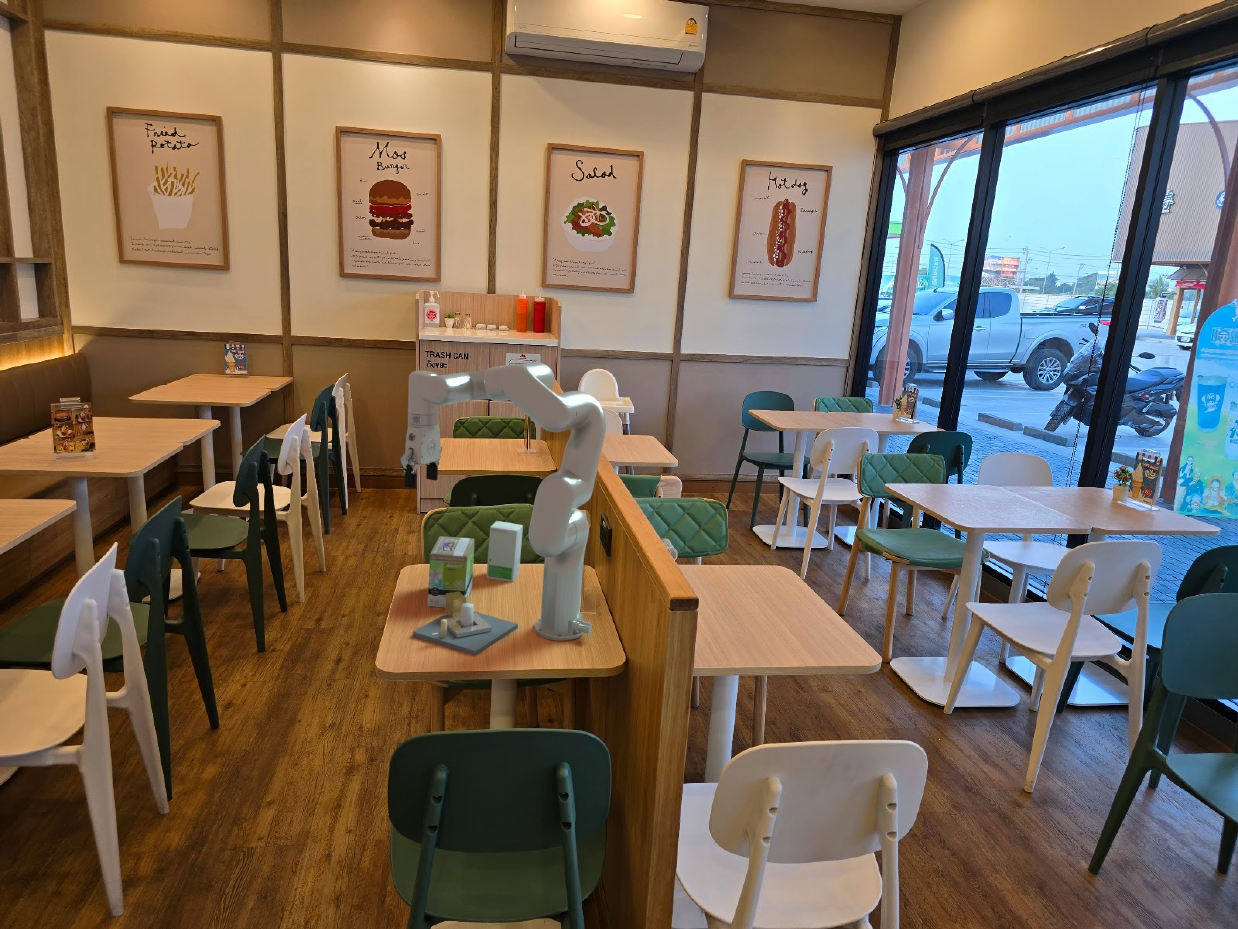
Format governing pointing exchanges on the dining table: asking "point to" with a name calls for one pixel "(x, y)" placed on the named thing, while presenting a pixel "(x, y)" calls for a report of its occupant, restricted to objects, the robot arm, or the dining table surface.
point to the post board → (471, 643)
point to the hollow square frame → (454, 613)
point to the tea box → (450, 569)
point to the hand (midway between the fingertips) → (421, 483)
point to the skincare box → (504, 551)
